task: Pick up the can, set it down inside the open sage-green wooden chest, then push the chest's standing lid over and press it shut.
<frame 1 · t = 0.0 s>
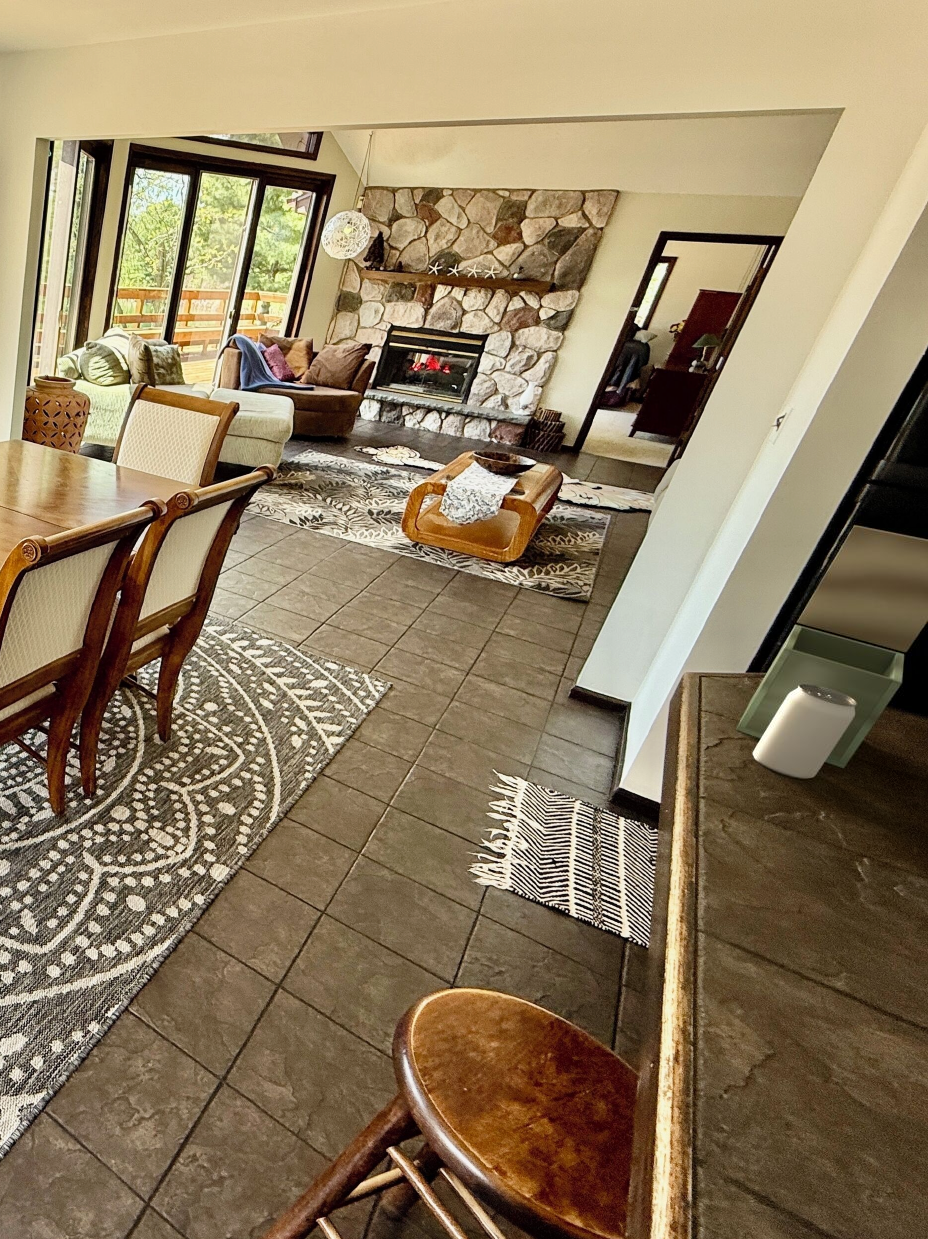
lid: (880, 588, 110), point 23 cm above the countertop, hinge at 85.0°
can: (780, 767, 105), on the countertop
chest: (793, 732, 115), on the countertop
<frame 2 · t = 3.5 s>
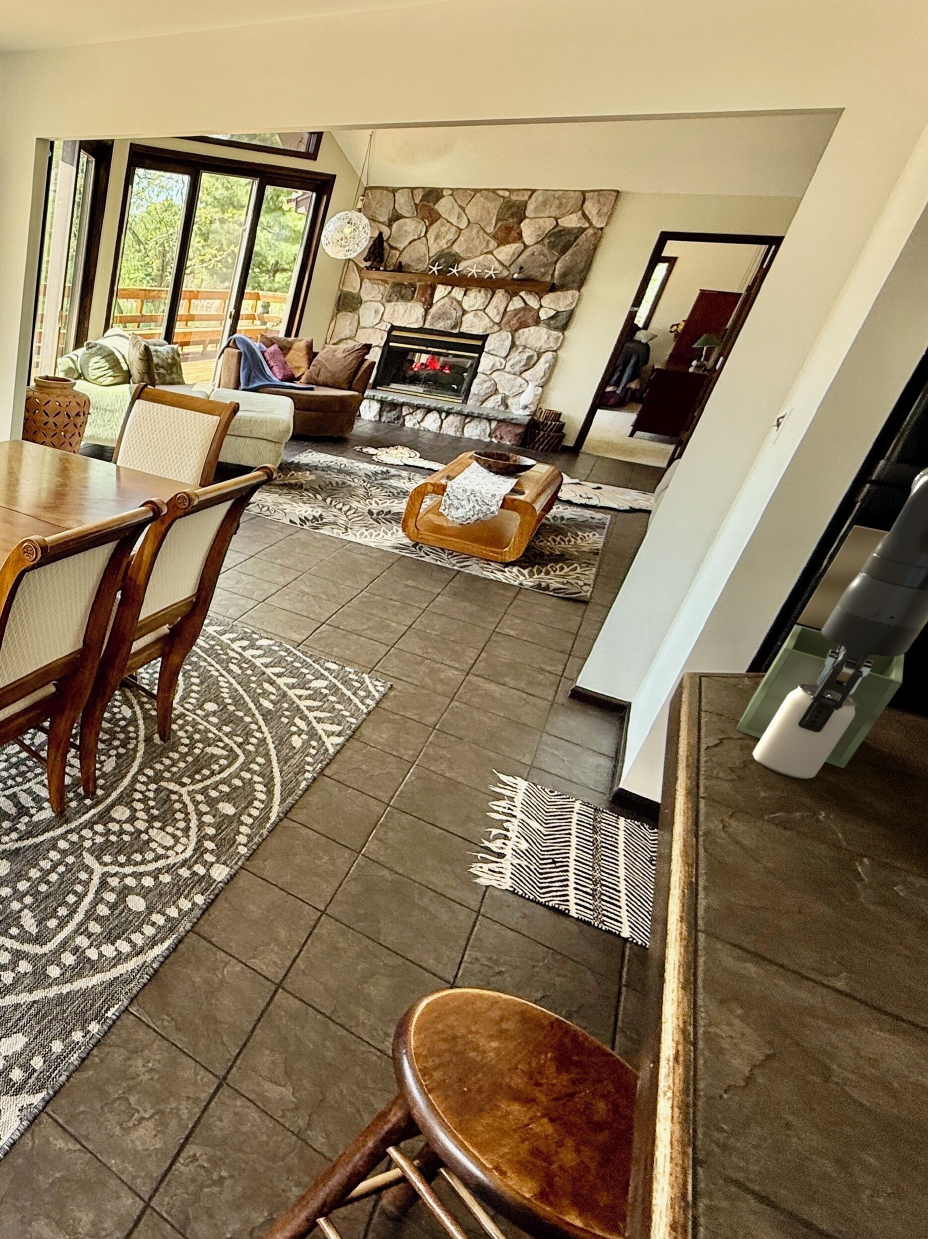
hand: (810, 720, 102), 8 cm above the countertop, tool pointing down, fingers closed on can, 6 cm apart
can: (780, 767, 105), on the countertop, touching gripper
everything else where it was.
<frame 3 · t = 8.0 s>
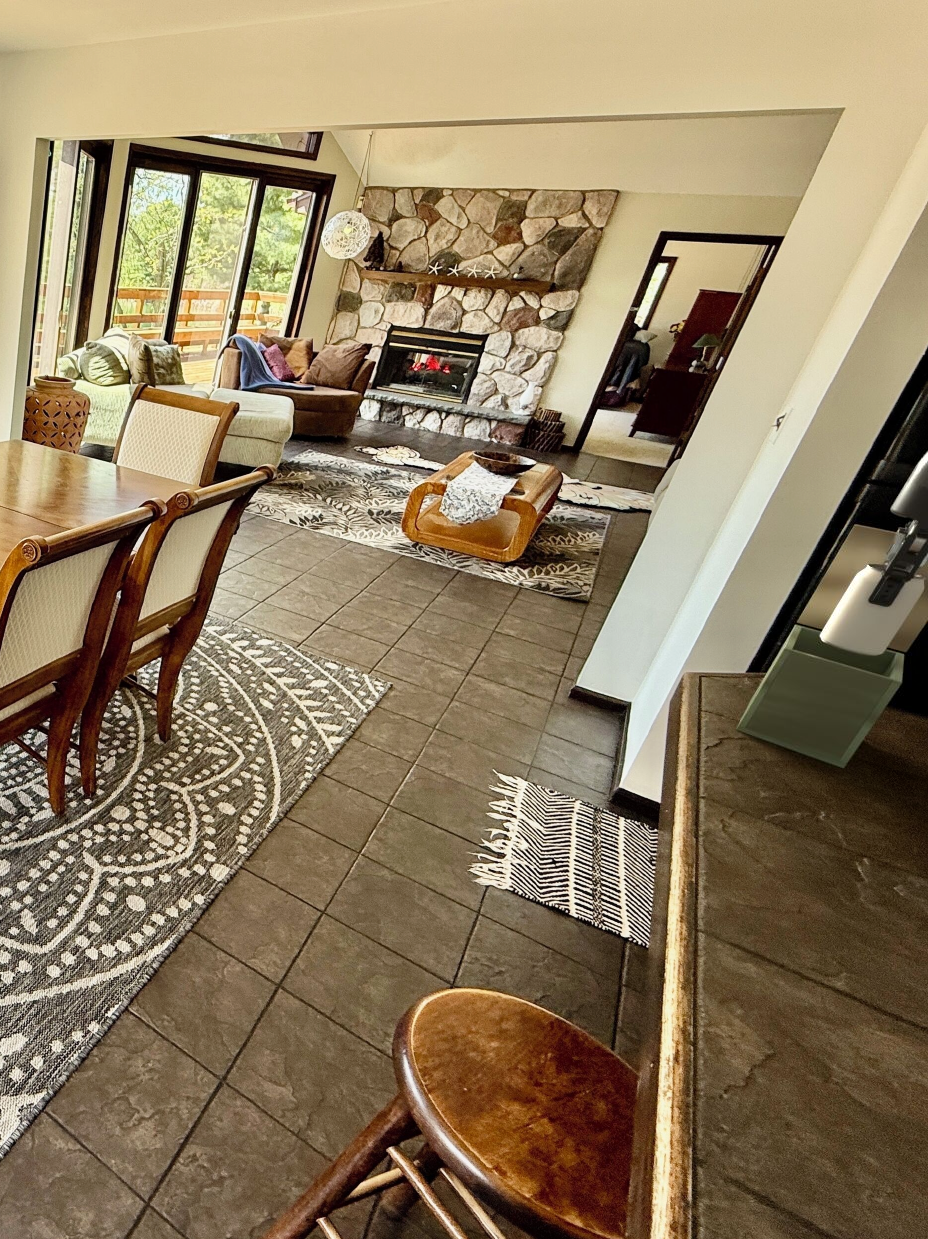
hand: (879, 599, 105), 23 cm above the countertop, tool pointing down, fingers closed on can, 6 cm apart
lid: (880, 587, 110), point 23 cm above the countertop, hinge at 87.5°
can: (848, 647, 108), point 15 cm above the countertop, touching gripper
when the fingers open (8 cm above the countertop, at t = 11.9 s): can stays where it is, resting on chest.
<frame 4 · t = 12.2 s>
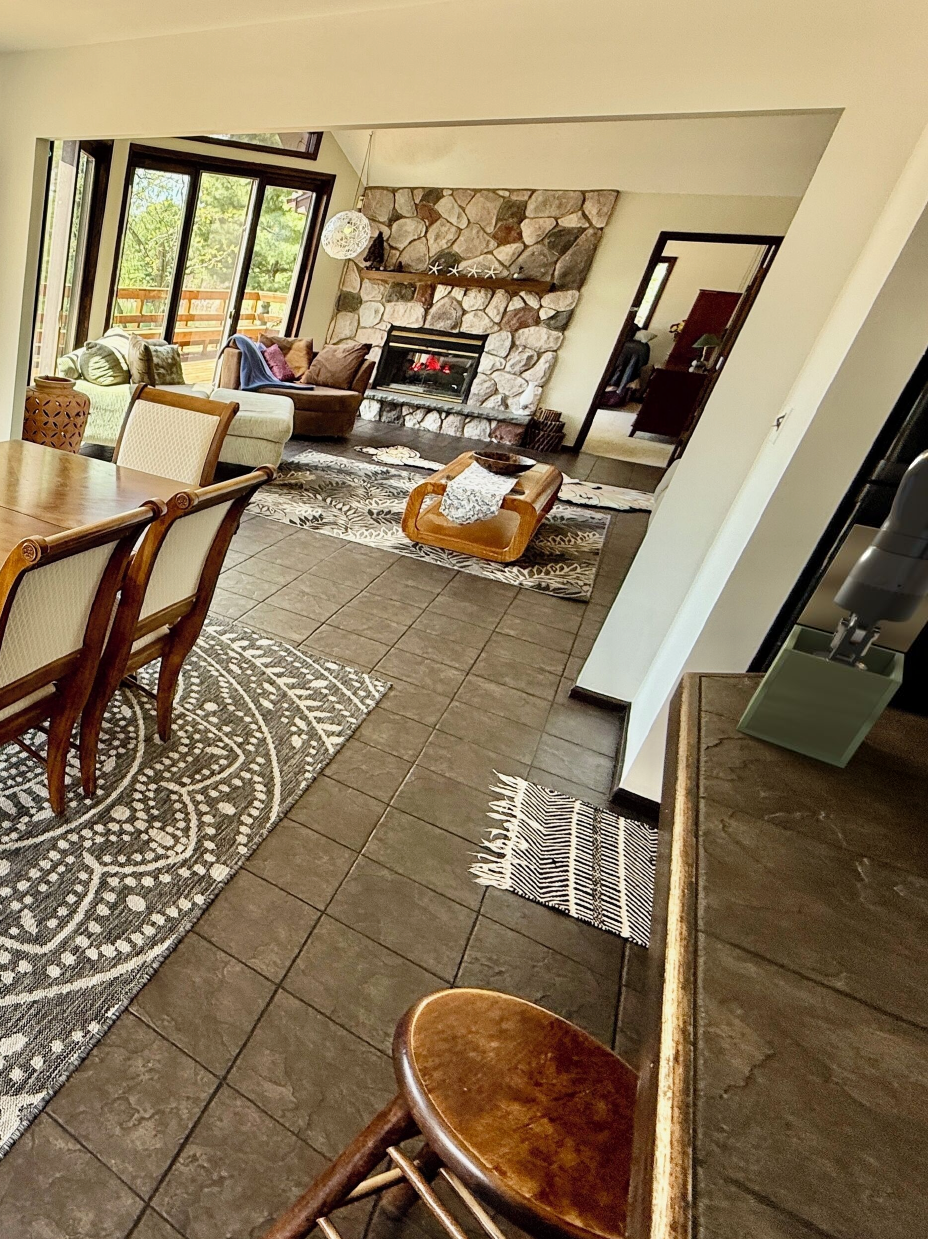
hand: (825, 681, 111), 9 cm above the countertop, tool pointing down, fingers open, 8 cm apart
lid: (880, 587, 110), point 23 cm above the countertop, hinge at 88.0°
can: (796, 729, 114), point 1 cm above the countertop, touching chest
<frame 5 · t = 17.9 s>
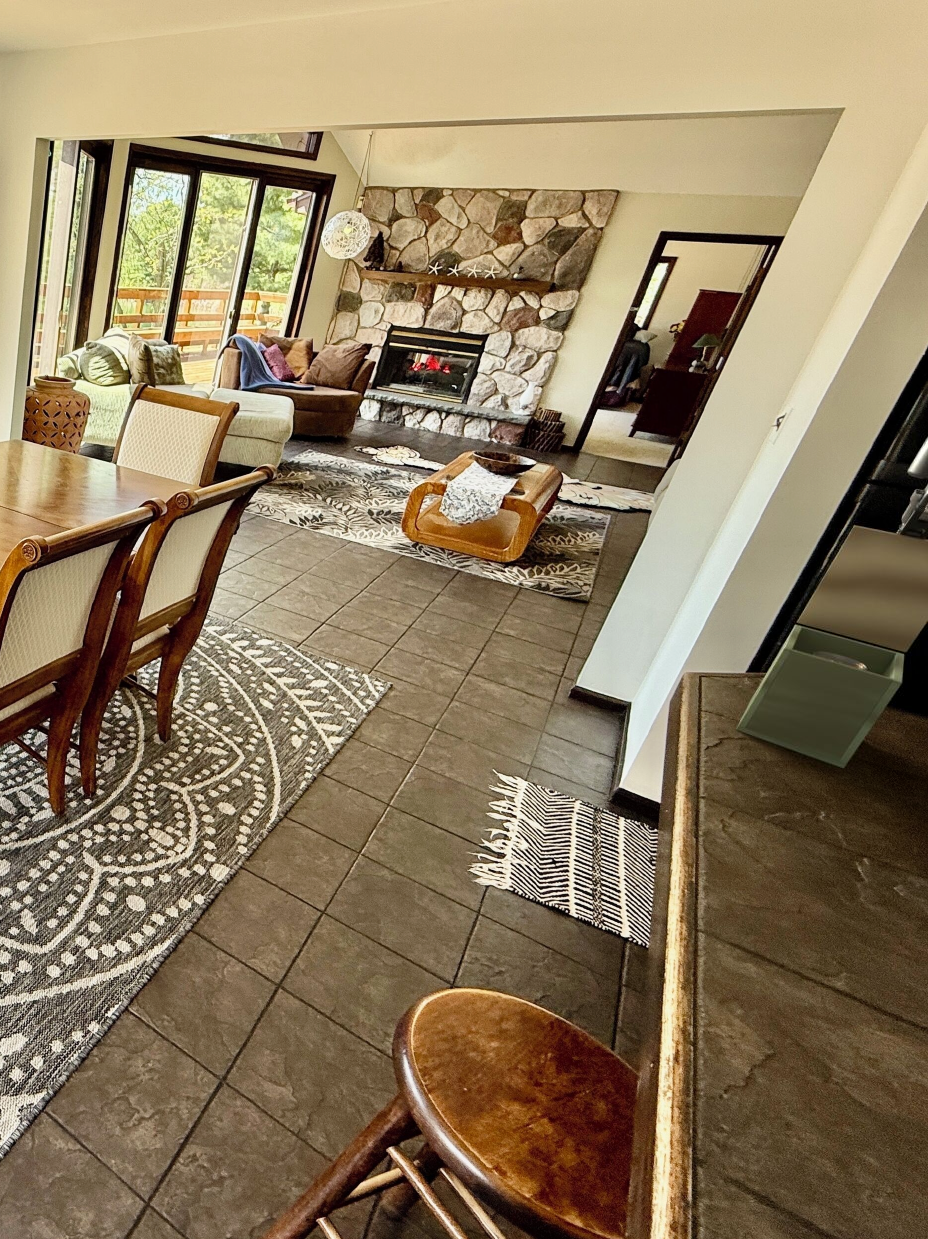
hand: (893, 563, 110), 26 cm above the countertop, tool pointing down, fingers closed
lid: (880, 588, 110), point 23 cm above the countertop, hinge at 84.6°, touching gripper
everything else where it was.
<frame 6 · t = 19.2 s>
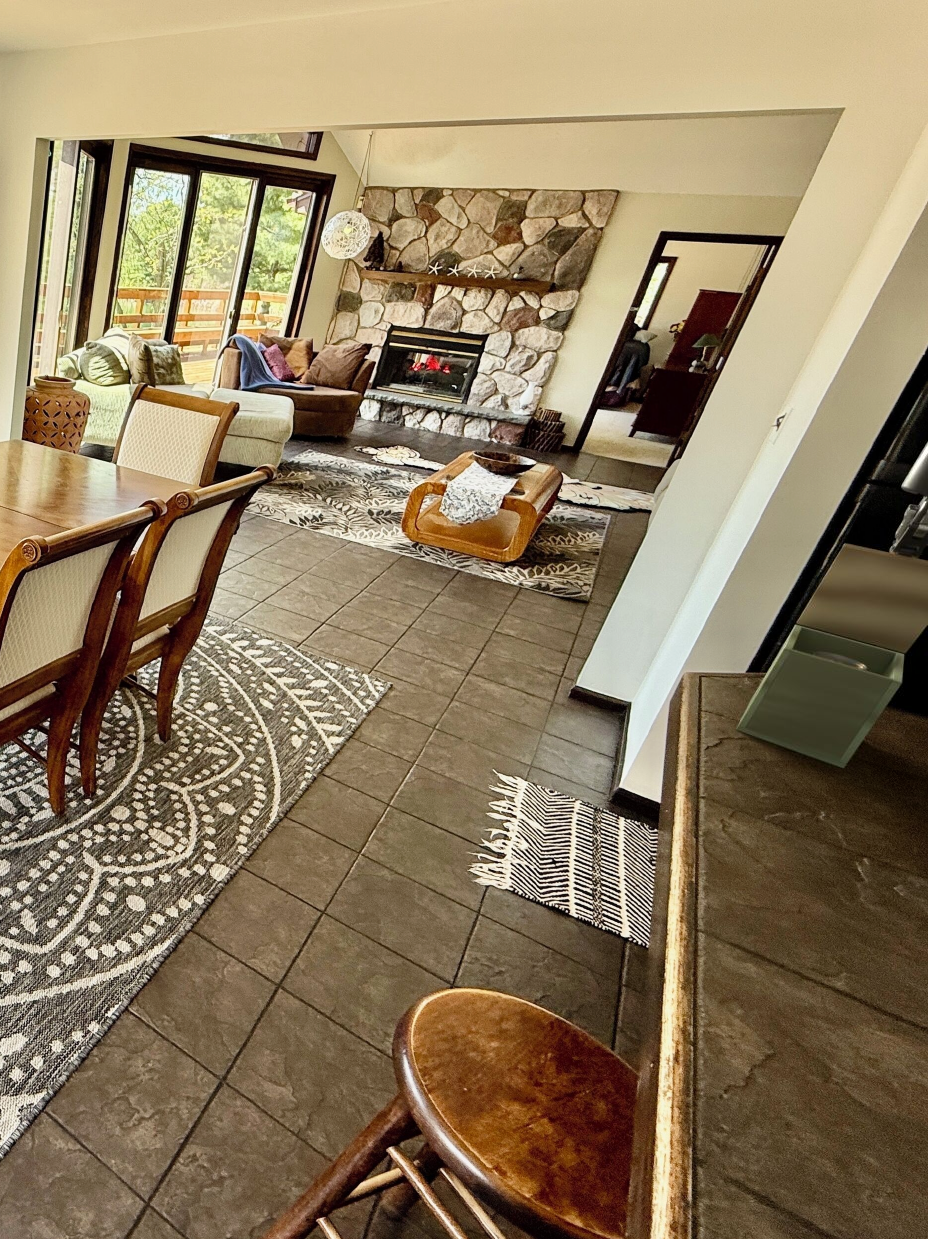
hand: (886, 580, 107), 25 cm above the countertop, tool pointing down, fingers closed
lid: (875, 598, 108), point 22 cm above the countertop, hinge at 61.3°, touching gripper
everything else where it was.
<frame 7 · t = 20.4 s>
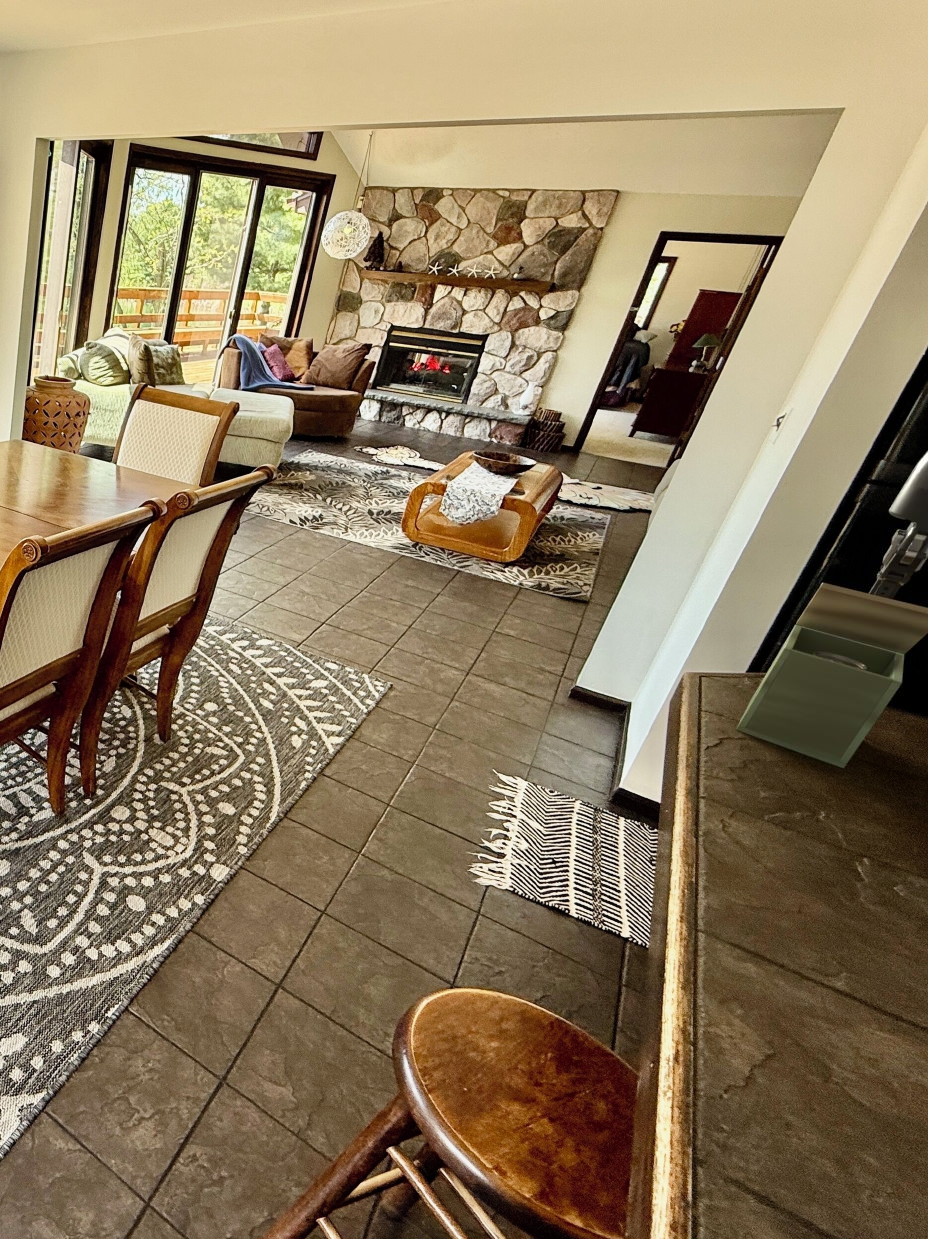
hand: (874, 605, 105), 22 cm above the countertop, tool pointing down, fingers closed
lid: (864, 618, 107), point 19 cm above the countertop, hinge at 34.2°, touching gripper
everything else where it was.
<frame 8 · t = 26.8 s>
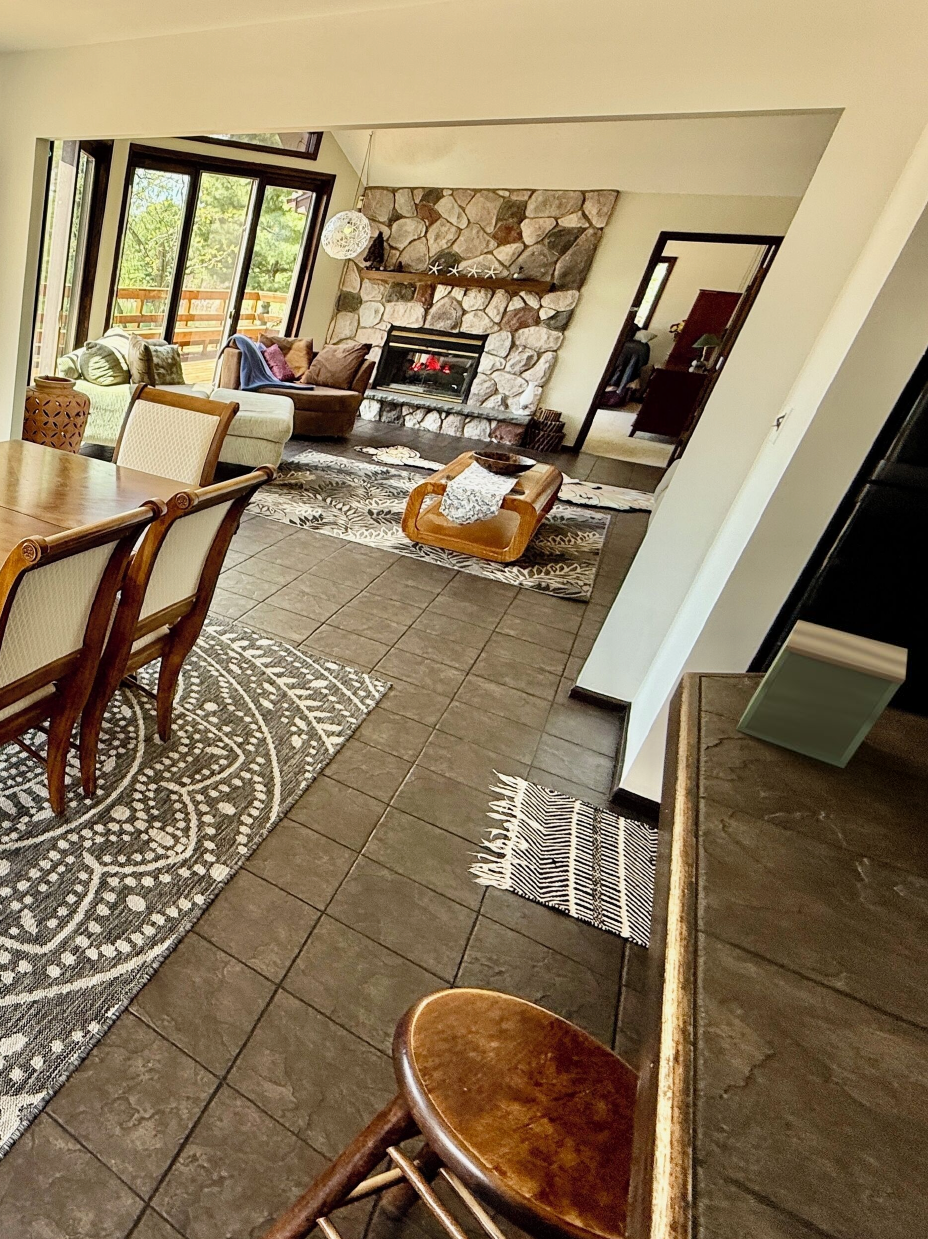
lid: (846, 649, 108), point 15 cm above the countertop, hinge at -0.2°, touching chest
everything else where it was.
at the end: can inside the target area in the chest (0.1 cm from its centre), point 0.6 cm above the chest's base; can tilted 0°; lid at +0° (first picture: +85°) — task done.
